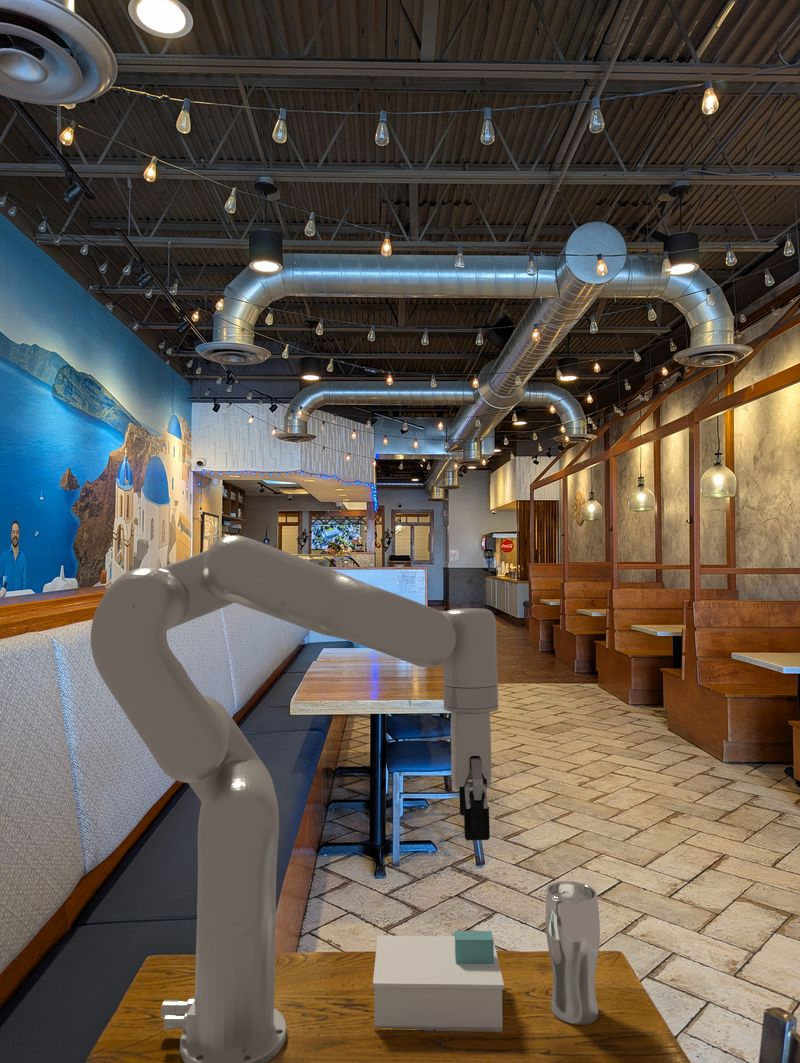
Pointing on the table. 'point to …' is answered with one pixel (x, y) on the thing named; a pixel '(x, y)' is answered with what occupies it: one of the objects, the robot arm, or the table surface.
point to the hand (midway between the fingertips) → (474, 826)
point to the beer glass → (573, 950)
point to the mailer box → (439, 1009)
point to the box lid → (438, 962)
